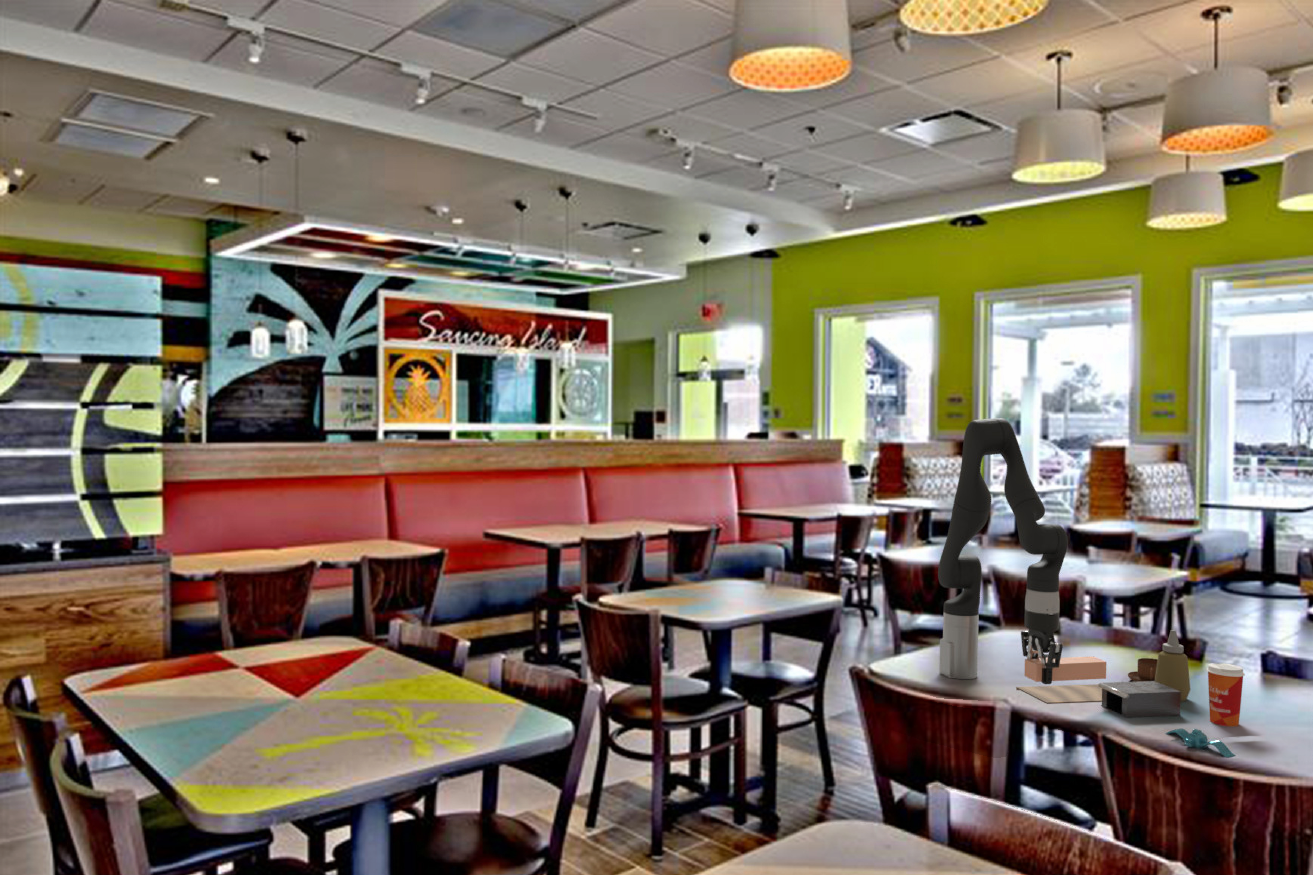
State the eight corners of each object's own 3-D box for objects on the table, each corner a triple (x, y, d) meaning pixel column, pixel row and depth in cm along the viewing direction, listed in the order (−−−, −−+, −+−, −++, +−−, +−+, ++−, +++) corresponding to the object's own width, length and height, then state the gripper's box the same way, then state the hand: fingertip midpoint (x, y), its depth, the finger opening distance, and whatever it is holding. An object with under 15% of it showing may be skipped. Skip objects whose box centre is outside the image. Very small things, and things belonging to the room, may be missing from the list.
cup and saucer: (1184, 691, 252) (1184, 668, 251) (1134, 688, 254) (1135, 665, 254) (1169, 679, 263) (1169, 657, 263) (1122, 676, 266) (1122, 654, 266)
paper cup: (1197, 721, 225) (1199, 662, 225) (1228, 721, 226) (1229, 662, 225) (1220, 732, 217) (1221, 670, 217) (1251, 731, 218) (1253, 670, 218)
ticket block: (1036, 681, 223) (1036, 664, 223) (1024, 675, 228) (1024, 659, 228) (1106, 678, 226) (1106, 661, 226) (1092, 672, 231) (1093, 656, 231)
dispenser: (1124, 722, 224) (1124, 693, 224) (1097, 709, 234) (1098, 682, 233) (1180, 719, 226) (1181, 691, 226) (1152, 707, 236) (1152, 680, 236)
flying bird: (1153, 739, 212) (1153, 722, 212) (1172, 735, 215) (1173, 718, 215) (1220, 761, 199) (1220, 742, 199) (1240, 756, 202) (1240, 738, 202)
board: (1046, 707, 235) (1047, 702, 235) (1016, 691, 248) (1016, 686, 248) (1142, 703, 239) (1142, 699, 239) (1106, 688, 253) (1107, 683, 253)
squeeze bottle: (1194, 707, 237) (1196, 634, 236) (1159, 704, 238) (1161, 632, 238) (1183, 698, 245) (1185, 628, 244) (1149, 695, 246) (1151, 626, 246)
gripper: (1011, 602, 232) (1009, 672, 232) (1044, 615, 217) (1042, 689, 218) (1039, 602, 233) (1037, 671, 233) (1074, 614, 219) (1072, 688, 219)
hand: (1040, 679), depth 226 cm, fingers closed on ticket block, 5 cm apart
